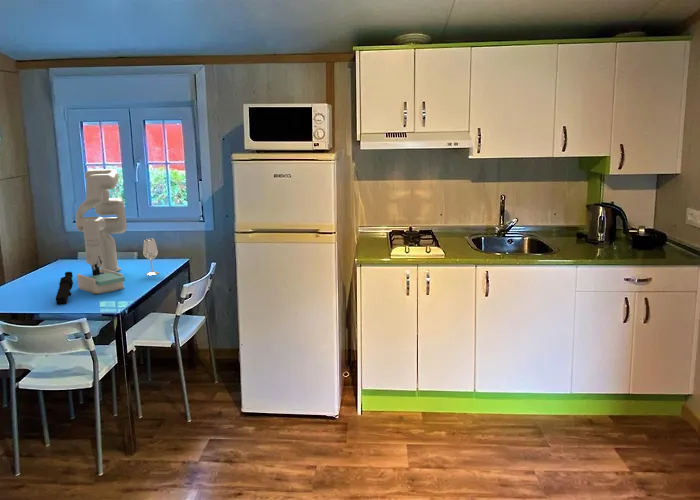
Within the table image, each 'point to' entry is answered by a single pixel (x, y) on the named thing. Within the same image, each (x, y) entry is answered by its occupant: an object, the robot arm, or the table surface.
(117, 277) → the lid
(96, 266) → the robot arm
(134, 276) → the table surface
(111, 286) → the box
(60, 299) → the toy gun
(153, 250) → the wineglass
